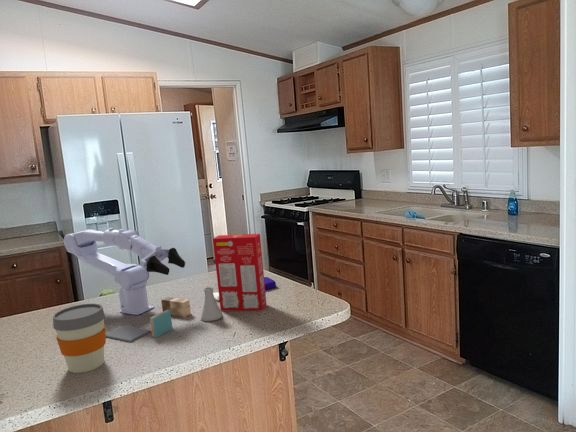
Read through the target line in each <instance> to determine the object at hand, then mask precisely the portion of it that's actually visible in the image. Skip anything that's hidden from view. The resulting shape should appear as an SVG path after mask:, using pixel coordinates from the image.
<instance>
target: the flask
mask: <svg viewBox="0 0 576 432" xmlns="http://www.w3.org/2000/svg"><path fill="white" fill-rule="evenodd" d="M203 292H204V304H203V307H202V308H203V309H202V311H201V317H200V321H203V322H204V321H205V322H211V321H212V322H213V321H217V320H219V319H221V318H223V311H221V309H220V305H218V301H217V300H215V298H214V295H213V293H214V287H213V286H209V287H208V286H207V287H204V288H203Z"/></svg>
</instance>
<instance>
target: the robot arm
mask: <svg viewBox="0 0 576 432" xmlns="http://www.w3.org/2000/svg"><path fill="white" fill-rule="evenodd" d="M97 242H103V244H104V245H106V246H111V247H118V248H119V249H120V250H127V251H130V252H131V253H133V254H135V255H137V256H138V257H140V258H142V259H140V260H139V264H136V263H124V262H122V261H120V260H117V259H114V258H112V257H110V256H107V255H105V254H102V253H101V252H98V245H97ZM63 244H64V247H65V250H66V252H68V253H69V254H72V255H74V256H75V257H77V258H78V259H79V260H80V261H81V262H82V263H83V264H85V265H88V266H89V267H92V268H95V269H97V270H99V271H100V272H104V273H106V274H109V275H111V276H113V277H114V282H115V283H116V284H119V286H120V287H121V288H120V290H119V292H118V296H119V305H120V310H119V311H118V312H119V313H123V314H130V315H136V316H138V315H140V314H143V313H145V312H147V311H150V310H152V309H153V308H155V305H149V298H148V292H147V284H148V280H149V279H150V273H158V274H162V275H166V276H168V275H169V274H170V268H169V267H168V266H167V265H166V264H164V263H162V261H164V260H165V259H166V258H167V259H168V261H167V264H171V265H172V264H173V265H175V266H178V267H180V268H182V269H184V268H185V266H186V261H185V260H184V259H183V257H181V255H179V252H178V250H177V248H175V247H170V248H162V246H161V245H155V244H154V243H151V242H149V241H148V240H146V239H144V238H143V237H142V236H140V233H139V232H138V231H137V230H135V229H133V228H131V229H128V230H125V229H123V228H121V229H115V228H114V227H110V228H108V229H105V231H100V230H95V229H89V228H88V229H87V228H86V229H85V230H81V231H78V232H73V233H67V234H65V235H64V237H63Z"/></svg>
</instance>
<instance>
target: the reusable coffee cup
mask: <svg viewBox="0 0 576 432" xmlns="http://www.w3.org/2000/svg"><path fill="white" fill-rule="evenodd" d="M105 318H106V315H105V311H104V307H103V305H102V304H100V303H83V304H77V305H72V306H69V307H66V308H63V309H60V310H58V311H57V312H55V313H54V314H53V316H52V325H53V326H52V327H53V329H54V330H55V332H56V341H57V345H58V347H59V350H60V353H61V355H62V356H63V358H64V360H65V363H66V364H65V365H66V366H67V369H68V371H69V372H70V373H73V374H79V373H80V374H81V373H87V372H91V371H92V370H95V369H99V368H100V367H101V366H102V365H104V363H105V345H106V343H107V342H106V341H107V340H106V339H107V337H106V324H105Z"/></svg>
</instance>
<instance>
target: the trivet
mask: <svg viewBox="0 0 576 432" xmlns="http://www.w3.org/2000/svg"><path fill="white" fill-rule="evenodd" d="M150 333H152V329H147V328H142V327H137V326H136V327H135V326H130V325H127V324H126V325H125V324H124V325H122V326H120V327H118V328H115V329H113V330H111V331H108V332H107V333H106V338H109V339H114V340H118V341H124V342H127V343H132V342H134V341H136V340H138V339H140V338H142V337H143V336H146V335H147V334H150Z"/></svg>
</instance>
